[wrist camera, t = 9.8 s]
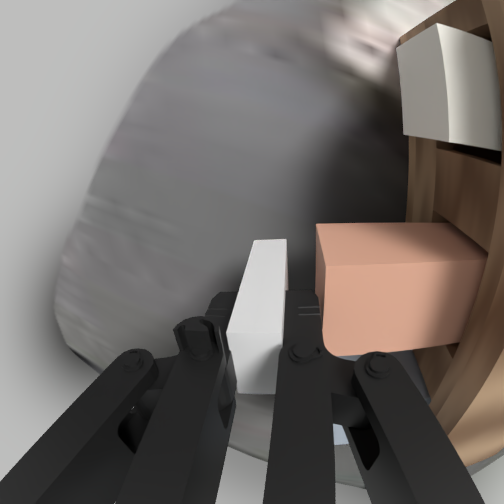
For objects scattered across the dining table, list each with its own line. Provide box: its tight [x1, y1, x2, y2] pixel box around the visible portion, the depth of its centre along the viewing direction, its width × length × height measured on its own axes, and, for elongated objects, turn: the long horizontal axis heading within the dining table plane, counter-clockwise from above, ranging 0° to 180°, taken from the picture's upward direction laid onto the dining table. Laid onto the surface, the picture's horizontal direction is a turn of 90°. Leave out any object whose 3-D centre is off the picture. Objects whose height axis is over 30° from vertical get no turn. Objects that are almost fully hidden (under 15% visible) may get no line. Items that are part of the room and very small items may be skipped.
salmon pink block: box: [315, 223, 489, 356], centre depth 11 cm, size 4×9×4 cm, turn 95°
